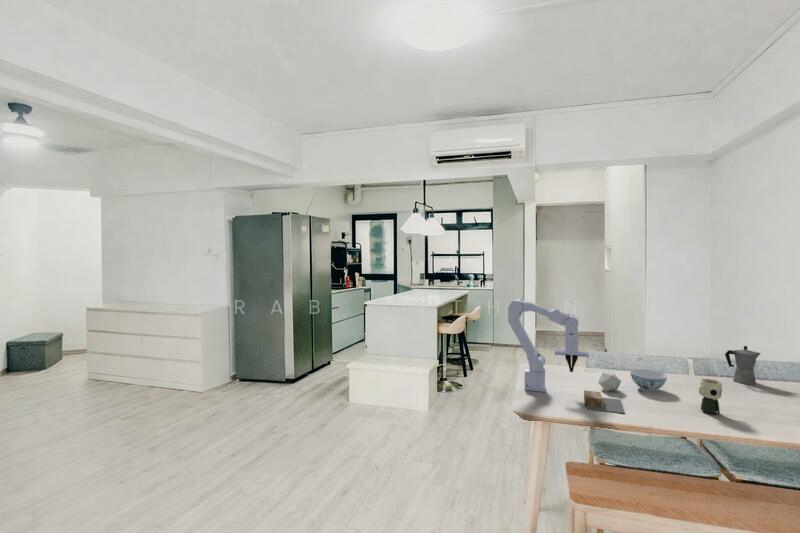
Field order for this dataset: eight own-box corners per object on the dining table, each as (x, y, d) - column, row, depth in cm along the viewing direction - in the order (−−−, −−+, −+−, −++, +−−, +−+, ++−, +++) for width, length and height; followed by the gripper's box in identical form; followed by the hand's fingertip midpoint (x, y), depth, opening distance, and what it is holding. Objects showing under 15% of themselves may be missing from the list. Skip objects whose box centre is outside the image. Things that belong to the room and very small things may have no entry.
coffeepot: (753, 379, 215) (754, 344, 214) (765, 385, 206) (767, 348, 205) (719, 378, 218) (720, 343, 217) (729, 384, 209) (730, 347, 208)
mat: (587, 409, 179) (587, 408, 179) (586, 396, 194) (586, 395, 194) (624, 413, 174) (624, 412, 174) (620, 400, 189) (620, 399, 189)
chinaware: (646, 396, 193) (646, 379, 193) (622, 385, 208) (623, 370, 207) (674, 393, 196) (675, 377, 196) (649, 383, 211) (649, 368, 211)
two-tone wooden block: (584, 397, 182) (602, 399, 180) (584, 390, 191) (601, 392, 188) (584, 405, 183) (602, 407, 180) (584, 397, 191) (601, 399, 188)
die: (618, 396, 196) (626, 376, 198) (600, 385, 197) (609, 366, 200) (610, 396, 204) (617, 378, 206) (592, 386, 205) (600, 368, 208)
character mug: (706, 417, 170) (707, 384, 169) (691, 410, 177) (692, 379, 176) (729, 414, 172) (730, 382, 171) (713, 408, 179) (714, 377, 178)
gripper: (554, 343, 196) (554, 372, 196) (589, 345, 190) (588, 375, 191) (555, 339, 202) (555, 368, 203) (588, 341, 197) (588, 370, 198)
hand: (571, 371), depth 197 cm, fingers closed
